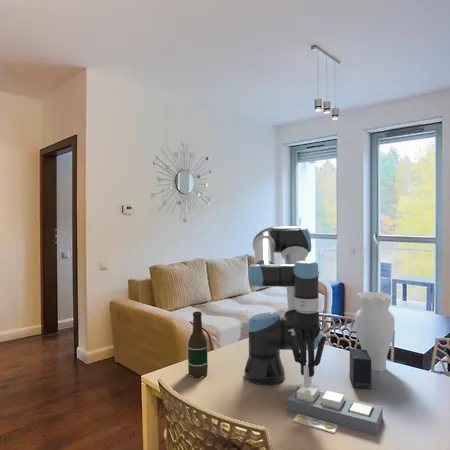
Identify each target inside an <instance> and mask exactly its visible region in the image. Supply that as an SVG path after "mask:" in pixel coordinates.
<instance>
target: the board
mask: <svg viewBox="0 0 450 450" xmlns="http://www.w3.org/2000/svg"><path fill="white" fill-rule="evenodd" d="M300 387H301V386H297V388H296V389H295V390H294V391H293V392H292V393H291V394H290V395H289V396H288V397H287V398H286V411H288V412H290V413H295V414H297V415H298V414H301V415H304V416H308V417H311V418H315V419H318V420H322V421H325V422H329V423H333V424H336V425H338V426H342V427H343V428H344V427H345V428H348V429H351V430H355V431H359V432H363V433H365V434H370V435H373V436H377V435H378V432H379V429H380V427H381V424H382V421H383V418H384V417H383V413H384V412H383V406H381V405H376V404H372V403H368V402H364V401H359V400H356V399H352V398H348V397H344V404H343V406H342V407H341V409H340V410H339V409H335V408H331V407H327V406H323V405H322V397H323V396H324V395H325V393H326V392H323V391H319V396H318V398H317V399H316V400H315V402H314V403H312V402H308V401H304V400H300V399H297V391H298V390H299V388H300ZM354 402H355V403H359V404H363V405H367V406H371V407H372V415H371V417H370V418H369V417H366V416H362V415H358V414H354V413H350V408H351V407H352V405H353V403H354Z"/></svg>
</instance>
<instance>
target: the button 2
mask: <svg viewBox="0 0 450 450" xmlns="http://www.w3.org/2000/svg"><path fill="white" fill-rule="evenodd" d="M324 393H325V395H324V396H323V397H322V405H323V406H327V407H331V408H335V409H339V410H340V409H341V407H342V406H343V404H344V398H345V394H342V393H340V392H339V393H338V392H334V391H330V390H327V391H326V392H324Z"/></svg>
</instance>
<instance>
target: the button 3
mask: <svg viewBox="0 0 450 450" xmlns="http://www.w3.org/2000/svg"><path fill="white" fill-rule="evenodd" d="M350 413H354V414H358V415H362V416H366V417H369V418H370V417H371V415H372V407H371V406H367V405H363V404H359V403H355V402H354V403H353V405H352V407H351V408H350Z"/></svg>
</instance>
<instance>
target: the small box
mask: <svg viewBox="0 0 450 450" xmlns="http://www.w3.org/2000/svg"><path fill="white" fill-rule="evenodd" d="M349 379H350V382H351V384H352V388H357V389H367V390H370V389H371V390H372V370H371V358H370V356H369V354H368V353H367V351H366V350H362V348H360V349H359V348H349Z"/></svg>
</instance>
